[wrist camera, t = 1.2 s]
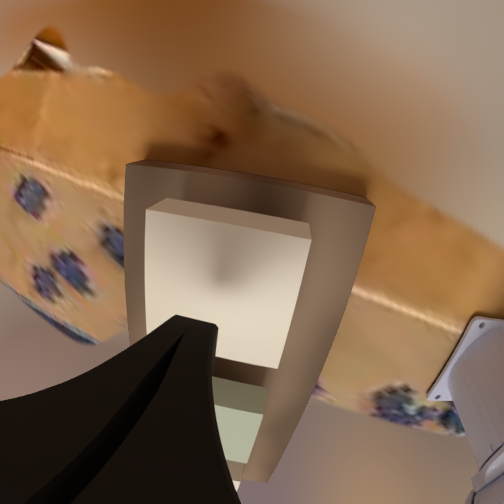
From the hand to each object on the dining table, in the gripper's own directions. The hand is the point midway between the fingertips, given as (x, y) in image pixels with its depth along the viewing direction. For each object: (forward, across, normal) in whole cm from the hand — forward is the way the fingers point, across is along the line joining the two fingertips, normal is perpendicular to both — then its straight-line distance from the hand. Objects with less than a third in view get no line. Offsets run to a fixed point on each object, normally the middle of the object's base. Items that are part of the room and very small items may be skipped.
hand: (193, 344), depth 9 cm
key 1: (+5, 0, 0) cm, 5 cm away
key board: (+8, 0, +10) cm, 13 cm away
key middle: (+5, 0, +10) cm, 11 cm away
